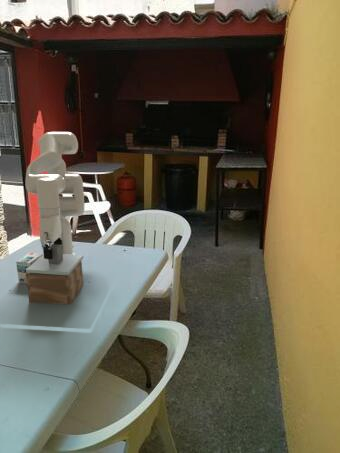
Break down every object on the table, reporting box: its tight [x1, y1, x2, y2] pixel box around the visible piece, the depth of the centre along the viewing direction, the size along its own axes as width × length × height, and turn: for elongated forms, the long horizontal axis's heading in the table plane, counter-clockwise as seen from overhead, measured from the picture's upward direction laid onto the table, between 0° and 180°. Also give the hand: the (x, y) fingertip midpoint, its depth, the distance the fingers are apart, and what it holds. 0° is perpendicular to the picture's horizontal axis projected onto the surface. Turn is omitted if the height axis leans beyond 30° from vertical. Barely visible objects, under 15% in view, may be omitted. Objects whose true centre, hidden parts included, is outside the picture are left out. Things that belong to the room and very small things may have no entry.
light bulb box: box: [15, 252, 44, 284], centre depth 151 cm, size 11×7×11 cm, turn 168°
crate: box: [26, 259, 84, 305], centre depth 139 cm, size 16×16×13 cm
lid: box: [26, 244, 84, 275], centre depth 134 cm, size 16×16×9 cm
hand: (53, 253), depth 135 cm, fingers open, 9 cm apart
